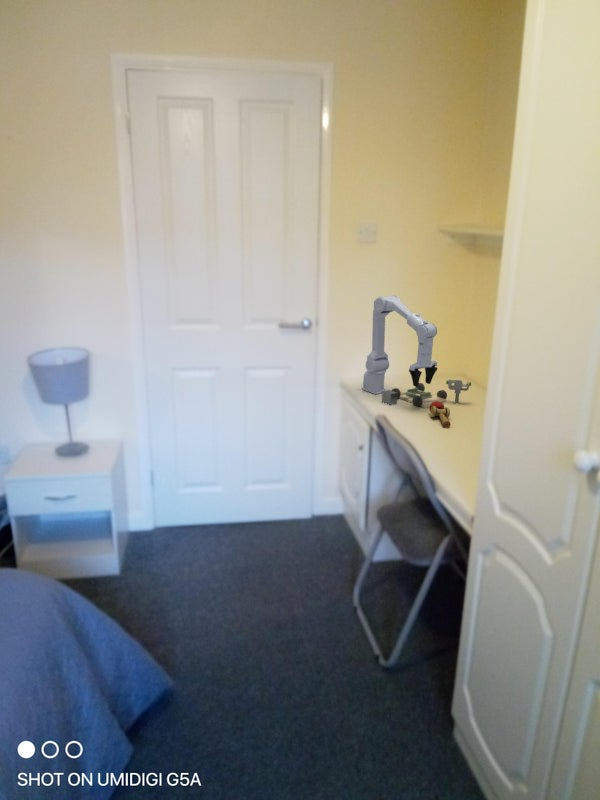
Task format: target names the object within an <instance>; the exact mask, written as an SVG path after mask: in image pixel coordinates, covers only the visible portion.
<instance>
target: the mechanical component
mask: <svg viewBox="0 0 600 800" xmlns="http://www.w3.org/2000/svg"><path fill="white" fill-rule="evenodd" d="M445 382H446V383H445V385H447V387H448V389H449V390H451V391H453V390H454V394H455V397H454V404H456V403H458V404H459V401H460V395H461V391H463V392H464V391H465V392H467V391H468V390H469V388H470V387H471V386H472V382H471V381H467V383H466V384H464V383H463V381H462V380H459V379H448V380H446V381H445ZM463 387H464V388H463ZM465 387H466V388H465Z"/></svg>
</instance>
